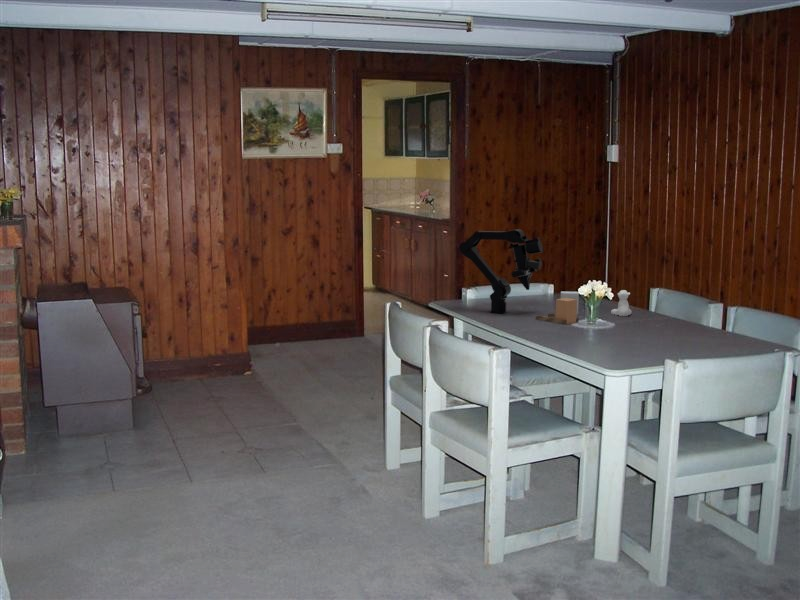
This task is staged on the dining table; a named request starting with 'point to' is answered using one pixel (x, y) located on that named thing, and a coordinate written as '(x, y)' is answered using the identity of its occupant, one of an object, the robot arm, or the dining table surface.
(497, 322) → the dining table surface
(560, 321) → the chute
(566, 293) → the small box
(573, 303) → the block
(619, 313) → the white creature statuette
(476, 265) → the robot arm
